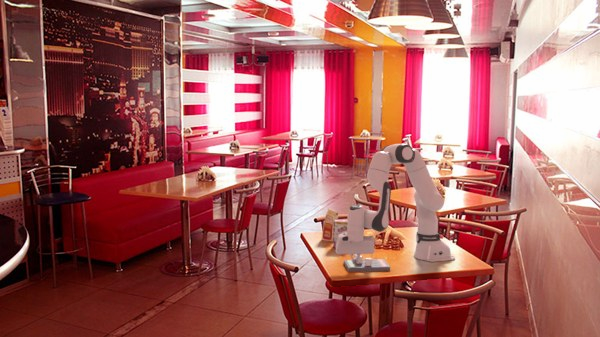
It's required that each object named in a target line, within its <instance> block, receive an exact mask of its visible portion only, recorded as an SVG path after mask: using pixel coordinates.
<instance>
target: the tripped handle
mask: <svg viewBox="0 0 600 337" xmlns="http://www.w3.org/2000/svg"><path fill="white" fill-rule="evenodd" d="M372 259H373V258H372V257H365V265H366V266H372Z"/></svg>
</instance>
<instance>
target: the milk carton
mask: <svg viewBox="0 0 600 337" xmlns="http://www.w3.org/2000/svg"><path fill="white" fill-rule="evenodd" d="M327 210H328V211H327V212H326V214H325V217H324V222H323V226H322V227H323V228H322V234H321V235H322V236H321V240H322V241H326V242H334V220H340V219H339V211H336V210H333V209H331V208H327Z"/></svg>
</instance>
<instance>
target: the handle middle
mask: <svg viewBox="0 0 600 337" xmlns="http://www.w3.org/2000/svg"><path fill="white" fill-rule="evenodd" d="M356 257H357V256H356ZM362 262H363V255H361V256H360V257H359V258H358V262H356V263H357V264H359V263H362Z"/></svg>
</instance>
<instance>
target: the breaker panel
mask: <svg viewBox="0 0 600 337" xmlns="http://www.w3.org/2000/svg"><path fill="white" fill-rule="evenodd" d="M371 259H372V266H366V265H365V259H363V262H362V263H359V264H357V263H356V262H352V259H343V264H344V266H345V269H346V270H347V271H348V273H349V272H388V271H390V272H391V266H390V265H389V264H388V262H387V261H386V260H385V259H384V258H376V259H375V258H371Z"/></svg>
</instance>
